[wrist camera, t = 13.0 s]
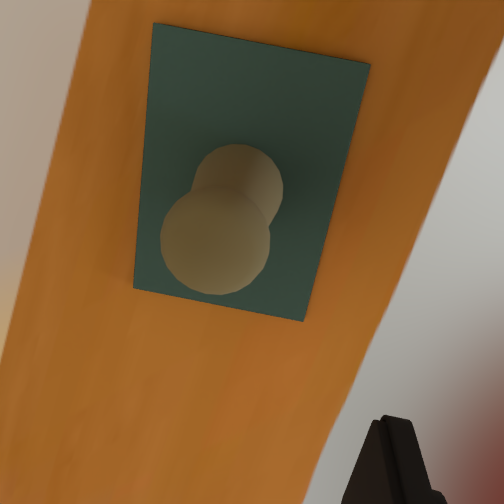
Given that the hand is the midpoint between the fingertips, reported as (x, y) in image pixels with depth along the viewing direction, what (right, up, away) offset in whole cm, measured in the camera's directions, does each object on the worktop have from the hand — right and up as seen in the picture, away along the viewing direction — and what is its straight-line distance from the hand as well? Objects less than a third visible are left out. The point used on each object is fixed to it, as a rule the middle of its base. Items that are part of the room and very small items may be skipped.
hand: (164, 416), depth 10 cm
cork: (+1, +8, +20) cm, 21 cm away
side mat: (+1, +8, +20) cm, 22 cm away
